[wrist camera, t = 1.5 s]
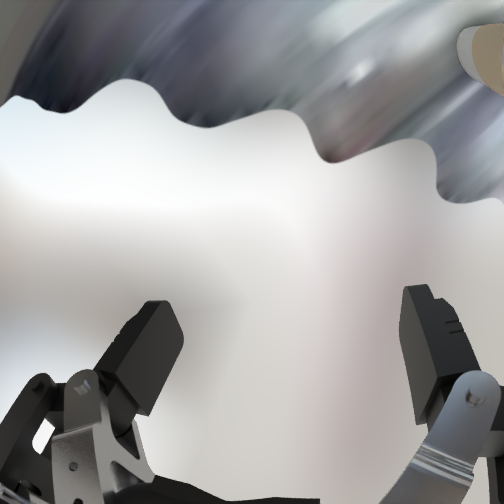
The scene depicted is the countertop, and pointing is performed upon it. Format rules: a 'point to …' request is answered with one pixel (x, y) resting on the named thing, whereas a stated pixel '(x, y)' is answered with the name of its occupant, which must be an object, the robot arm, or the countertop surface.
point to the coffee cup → (483, 54)
